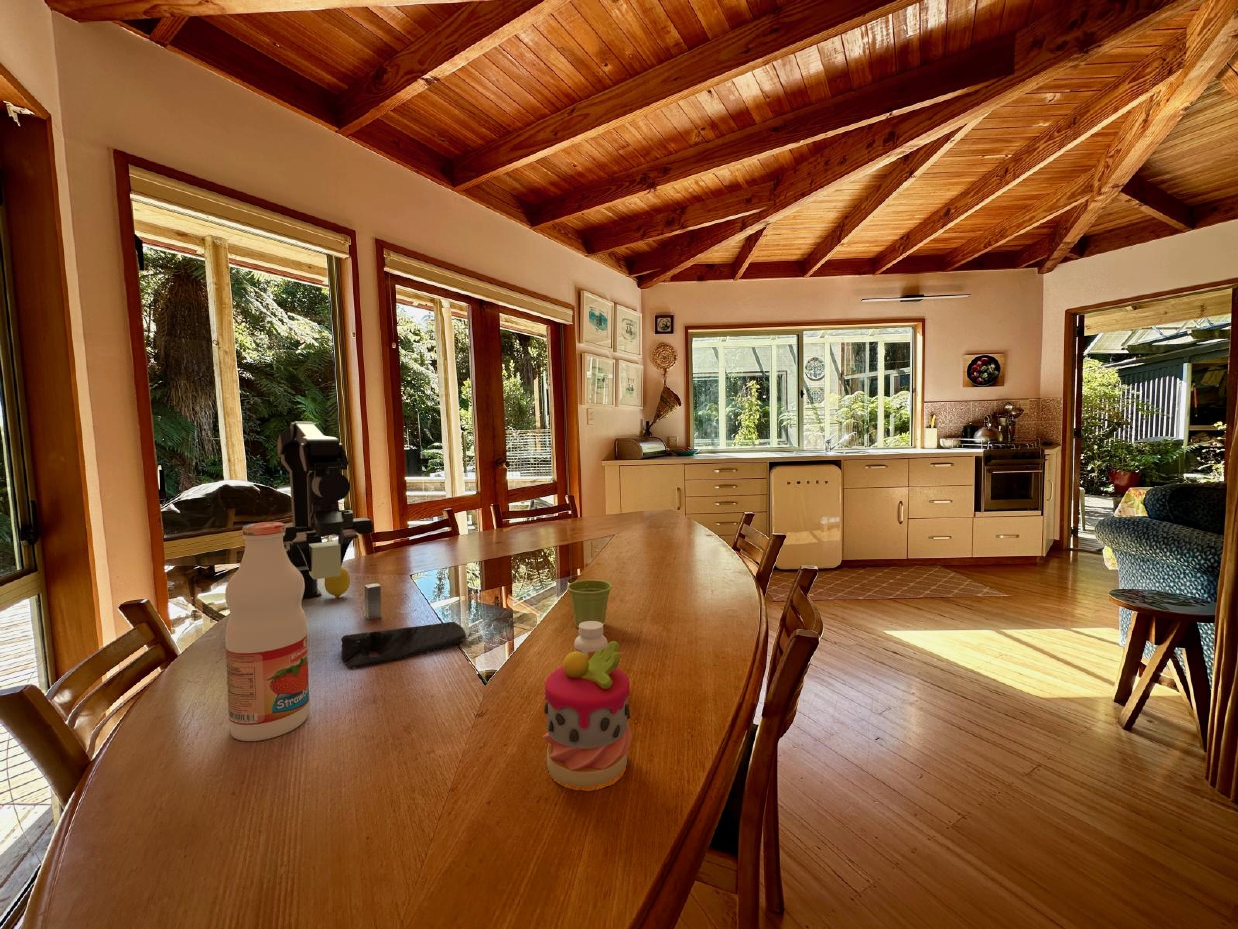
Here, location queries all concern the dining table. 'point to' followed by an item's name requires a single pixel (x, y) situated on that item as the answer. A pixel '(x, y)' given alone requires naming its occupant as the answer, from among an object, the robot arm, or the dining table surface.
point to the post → (372, 601)
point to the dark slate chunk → (398, 643)
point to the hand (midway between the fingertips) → (325, 569)
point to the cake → (587, 718)
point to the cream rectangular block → (325, 560)
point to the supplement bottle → (590, 638)
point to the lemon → (338, 583)
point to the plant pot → (589, 600)
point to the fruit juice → (266, 639)
